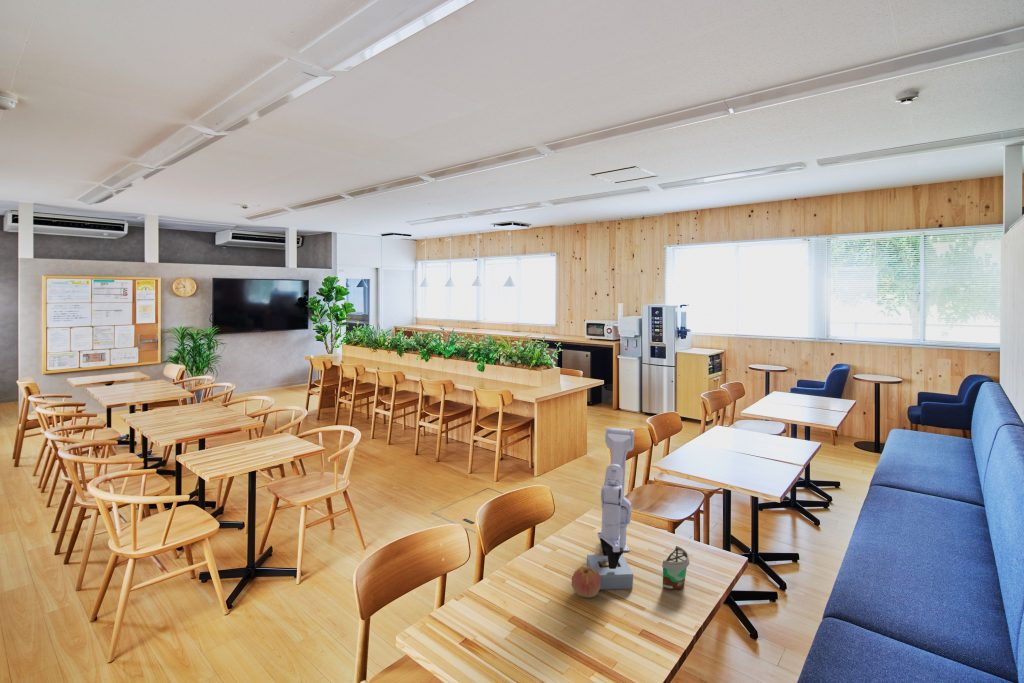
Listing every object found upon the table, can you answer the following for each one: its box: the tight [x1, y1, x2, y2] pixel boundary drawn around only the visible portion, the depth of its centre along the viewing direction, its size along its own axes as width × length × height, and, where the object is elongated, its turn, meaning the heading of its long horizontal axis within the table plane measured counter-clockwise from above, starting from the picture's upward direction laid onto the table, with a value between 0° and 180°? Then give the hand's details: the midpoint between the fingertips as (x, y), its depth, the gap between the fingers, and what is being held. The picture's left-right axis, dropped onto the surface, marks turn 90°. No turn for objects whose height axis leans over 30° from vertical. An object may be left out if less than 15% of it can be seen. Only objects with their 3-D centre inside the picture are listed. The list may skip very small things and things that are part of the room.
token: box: [601, 561, 618, 568], centre depth 168 cm, size 2×5×5 cm, turn 94°
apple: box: [571, 566, 601, 599], centre depth 159 cm, size 9×9×8 cm
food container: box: [661, 545, 690, 592], centre depth 165 cm, size 12×6×10 cm, turn 143°
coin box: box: [586, 553, 634, 591], centre depth 168 cm, size 12×12×5 cm
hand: (609, 561), depth 168 cm, fingers open, 7 cm apart
